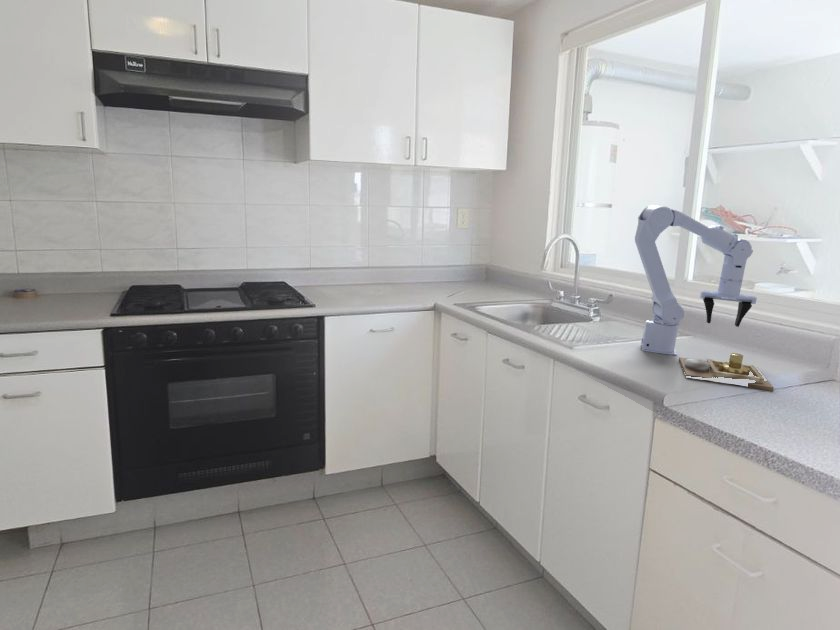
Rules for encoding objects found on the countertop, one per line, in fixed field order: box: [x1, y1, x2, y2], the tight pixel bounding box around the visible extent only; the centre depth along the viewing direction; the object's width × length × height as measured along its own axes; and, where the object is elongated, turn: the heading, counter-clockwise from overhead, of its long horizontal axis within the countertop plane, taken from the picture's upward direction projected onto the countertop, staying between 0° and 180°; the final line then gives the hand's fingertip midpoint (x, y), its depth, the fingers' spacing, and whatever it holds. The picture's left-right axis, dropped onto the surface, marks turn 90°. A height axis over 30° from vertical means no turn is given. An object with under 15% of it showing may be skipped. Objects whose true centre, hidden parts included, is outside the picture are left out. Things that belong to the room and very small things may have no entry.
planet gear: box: [718, 352, 750, 375], centre depth 147 cm, size 7×7×5 cm
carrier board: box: [678, 356, 774, 392], centre depth 148 cm, size 20×16×2 cm
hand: (722, 324), depth 164 cm, fingers open, 7 cm apart
